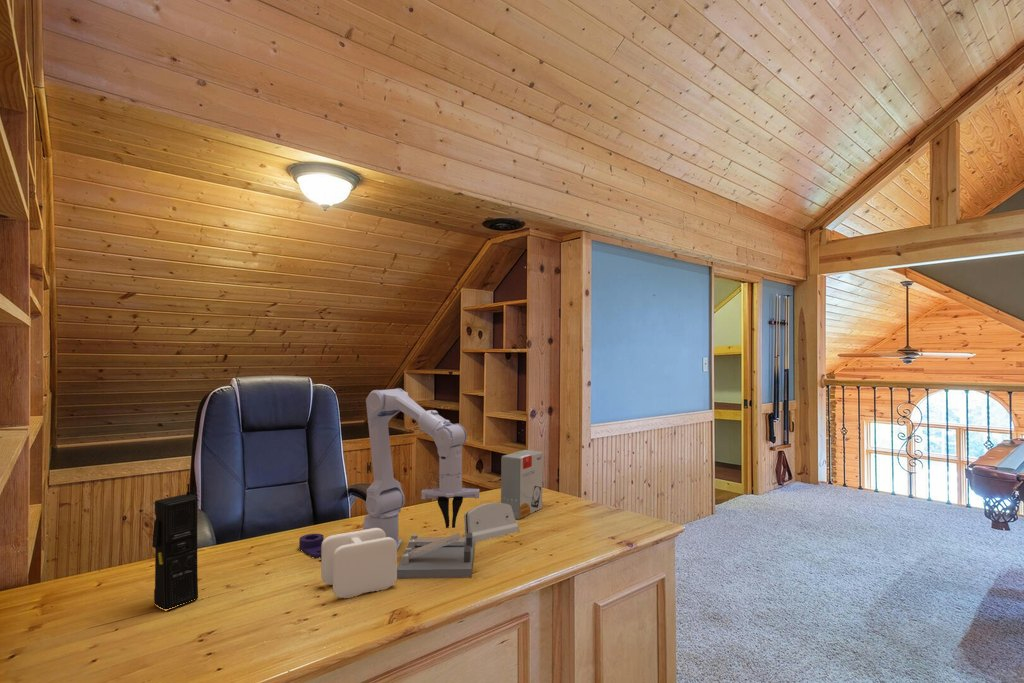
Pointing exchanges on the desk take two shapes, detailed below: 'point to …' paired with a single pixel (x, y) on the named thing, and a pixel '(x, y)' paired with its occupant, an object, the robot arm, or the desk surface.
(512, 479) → the hard drive box
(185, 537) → the portable radio
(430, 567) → the base plate
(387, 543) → the cable organizer
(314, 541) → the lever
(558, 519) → the desk surface
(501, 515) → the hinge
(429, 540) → the strip
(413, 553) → the front strap
